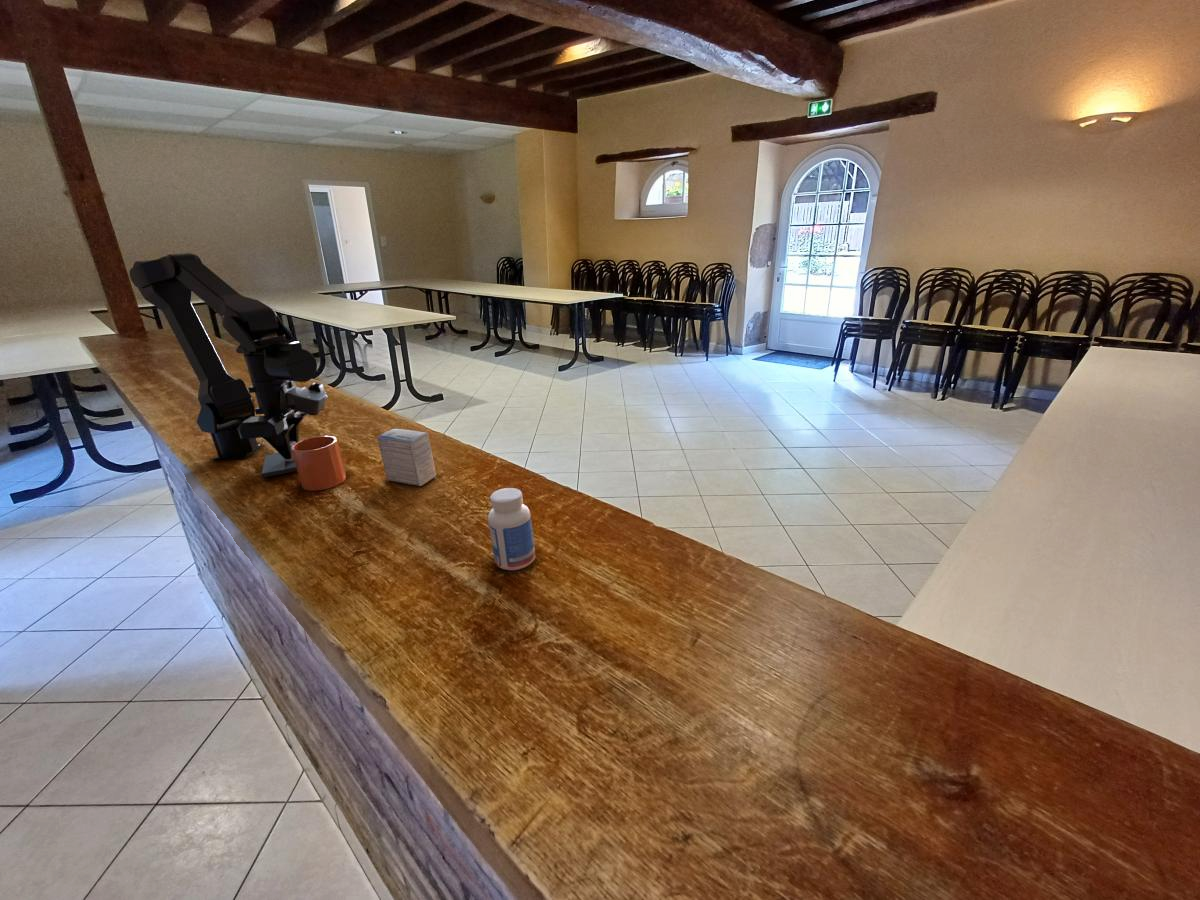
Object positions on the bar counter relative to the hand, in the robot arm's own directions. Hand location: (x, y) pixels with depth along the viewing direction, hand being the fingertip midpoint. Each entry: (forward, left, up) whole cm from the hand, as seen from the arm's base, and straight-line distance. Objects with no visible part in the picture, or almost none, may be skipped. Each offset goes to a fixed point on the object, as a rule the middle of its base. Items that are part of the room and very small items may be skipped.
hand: (291, 455), depth 107 cm
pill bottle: (+45, -40, -2) cm, 60 cm away
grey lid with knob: (0, 0, -1) cm, 1 cm away
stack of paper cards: (+25, -11, -2) cm, 27 cm away
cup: (+9, -9, -2) cm, 13 cm away
